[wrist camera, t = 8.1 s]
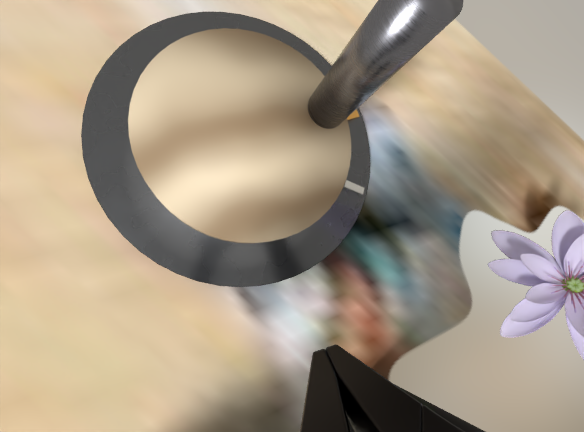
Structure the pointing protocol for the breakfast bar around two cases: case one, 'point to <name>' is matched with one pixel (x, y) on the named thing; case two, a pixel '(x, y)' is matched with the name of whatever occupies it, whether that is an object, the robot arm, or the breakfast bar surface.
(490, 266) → the water lily
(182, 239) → the base
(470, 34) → the breakfast bar surface
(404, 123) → the breakfast bar surface
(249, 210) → the dial
